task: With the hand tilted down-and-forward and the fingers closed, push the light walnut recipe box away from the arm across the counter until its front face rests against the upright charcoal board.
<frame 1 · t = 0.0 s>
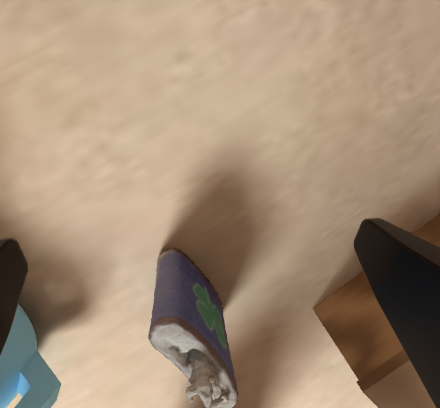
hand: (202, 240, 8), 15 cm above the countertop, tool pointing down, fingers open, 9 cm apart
recipe box: (401, 294, 31), on the countertop
flask: (193, 284, 27), on the countertop
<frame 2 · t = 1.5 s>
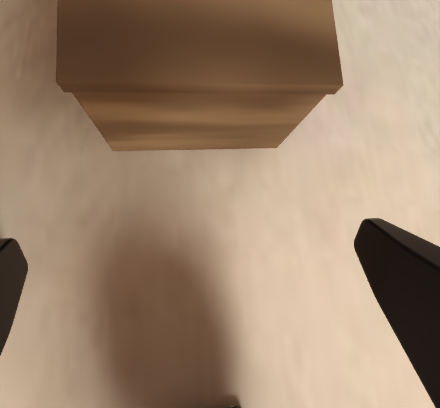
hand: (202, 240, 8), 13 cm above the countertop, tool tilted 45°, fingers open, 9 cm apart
recipe box: (192, 51, 23), on the countertop
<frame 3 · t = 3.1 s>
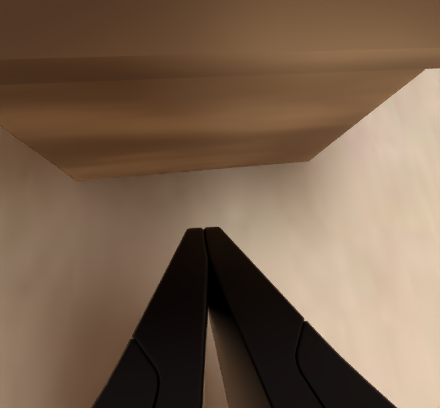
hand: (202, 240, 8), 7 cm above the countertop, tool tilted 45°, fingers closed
recipe box: (183, 36, 16), on the countertop
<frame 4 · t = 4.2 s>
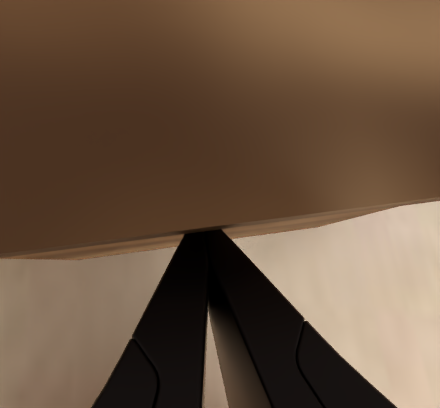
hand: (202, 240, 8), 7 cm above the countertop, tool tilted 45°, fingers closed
recipe box: (185, 97, 16), on the countertop, touching gripper
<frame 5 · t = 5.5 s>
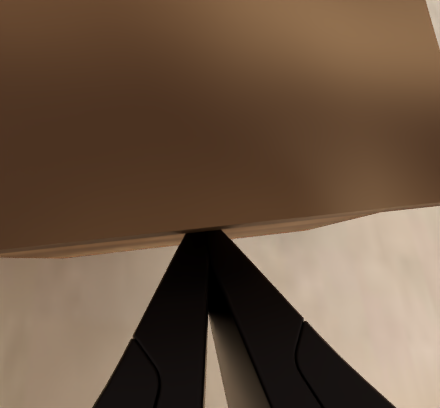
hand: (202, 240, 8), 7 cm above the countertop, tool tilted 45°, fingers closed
recipe box: (176, 97, 16), on the countertop
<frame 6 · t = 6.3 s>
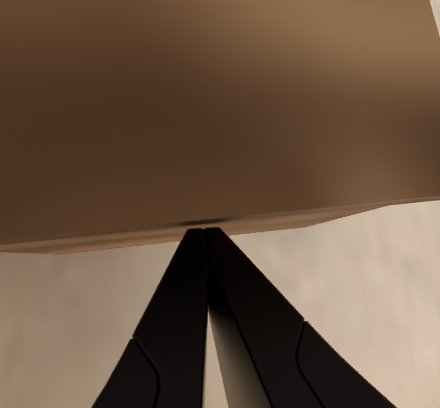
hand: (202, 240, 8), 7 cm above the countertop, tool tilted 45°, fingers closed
recipe box: (174, 92, 16), on the countertop
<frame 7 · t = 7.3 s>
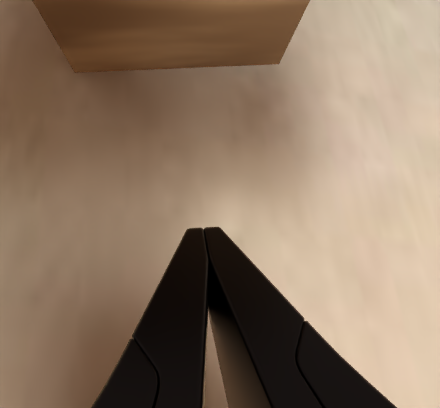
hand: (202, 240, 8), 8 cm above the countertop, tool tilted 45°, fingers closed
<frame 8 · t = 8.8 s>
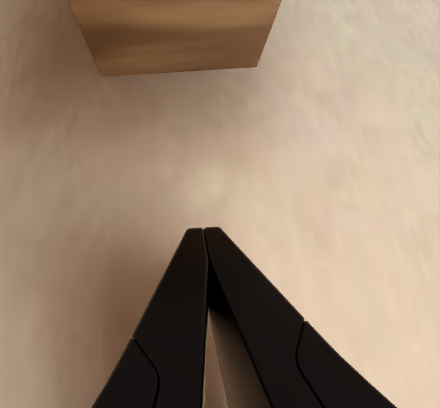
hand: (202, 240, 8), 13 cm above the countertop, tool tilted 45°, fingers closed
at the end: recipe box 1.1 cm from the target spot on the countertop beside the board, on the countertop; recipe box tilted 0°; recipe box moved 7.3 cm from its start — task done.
